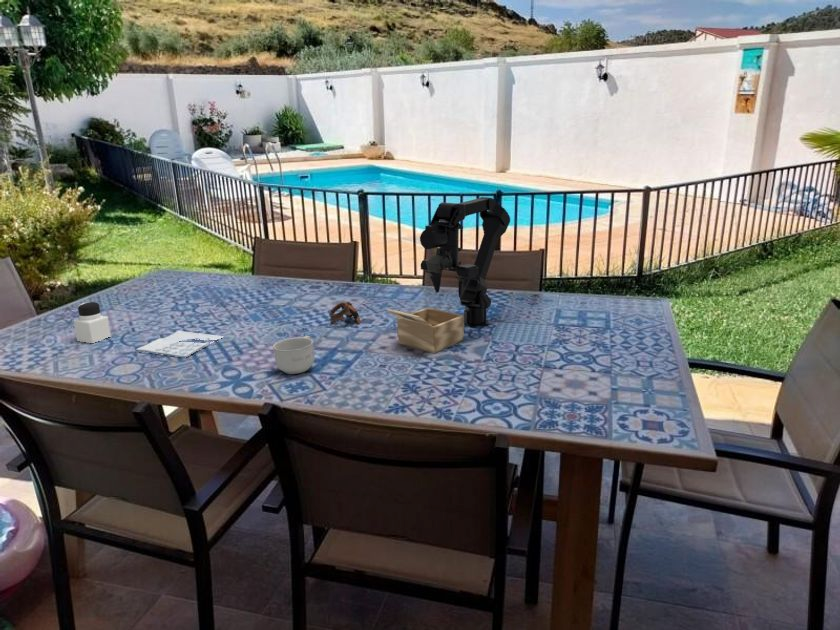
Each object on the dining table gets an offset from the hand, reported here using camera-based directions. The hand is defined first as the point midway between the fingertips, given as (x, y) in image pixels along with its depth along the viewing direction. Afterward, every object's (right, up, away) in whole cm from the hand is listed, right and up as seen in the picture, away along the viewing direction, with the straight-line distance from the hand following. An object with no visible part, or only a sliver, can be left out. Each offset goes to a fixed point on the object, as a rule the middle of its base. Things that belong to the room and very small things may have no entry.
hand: (448, 294), depth 196 cm
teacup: (-42, -21, -21) cm, 52 cm away
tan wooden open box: (-6, -15, -3) cm, 16 cm away
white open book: (-82, -16, 0) cm, 84 cm away
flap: (-12, -7, -12) cm, 19 cm away
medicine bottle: (-113, -14, +6) cm, 114 cm away
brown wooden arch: (-34, -9, +18) cm, 39 cm away
